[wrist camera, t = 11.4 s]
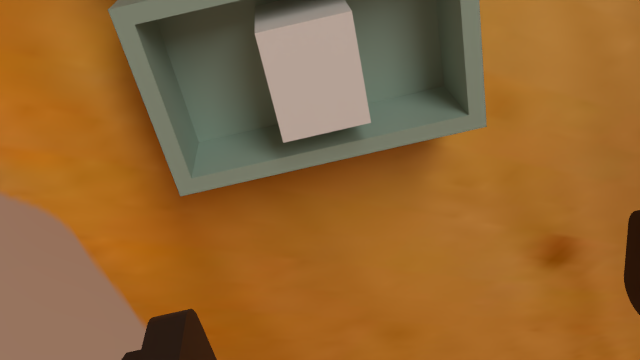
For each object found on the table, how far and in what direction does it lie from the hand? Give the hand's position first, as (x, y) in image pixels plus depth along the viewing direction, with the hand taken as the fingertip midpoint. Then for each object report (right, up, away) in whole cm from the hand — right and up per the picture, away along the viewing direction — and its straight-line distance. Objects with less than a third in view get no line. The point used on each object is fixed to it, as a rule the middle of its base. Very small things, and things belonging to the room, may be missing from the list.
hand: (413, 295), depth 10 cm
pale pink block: (-2, +9, +18) cm, 20 cm away
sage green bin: (-3, +9, +19) cm, 21 cm away
